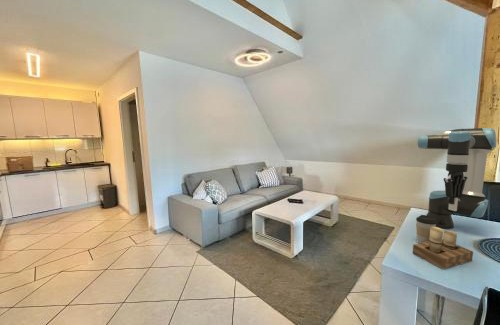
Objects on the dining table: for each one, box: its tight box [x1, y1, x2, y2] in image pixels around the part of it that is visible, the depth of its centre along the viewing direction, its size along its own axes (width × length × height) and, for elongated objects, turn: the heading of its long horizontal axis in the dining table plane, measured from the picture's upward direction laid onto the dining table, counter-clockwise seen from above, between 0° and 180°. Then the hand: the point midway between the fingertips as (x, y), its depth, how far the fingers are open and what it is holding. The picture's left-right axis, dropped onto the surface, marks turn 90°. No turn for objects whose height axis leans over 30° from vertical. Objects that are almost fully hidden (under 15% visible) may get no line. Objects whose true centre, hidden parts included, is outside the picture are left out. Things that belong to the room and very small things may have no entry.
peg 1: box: [429, 227, 444, 254], centre depth 105 cm, size 5×5×12 cm
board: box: [412, 239, 474, 270], centre depth 107 cm, size 20×14×5 cm
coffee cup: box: [415, 214, 437, 243], centre depth 122 cm, size 9×9×15 cm
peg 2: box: [443, 229, 458, 250], centre depth 108 cm, size 5×5×12 cm
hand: (452, 210), depth 106 cm, fingers closed
